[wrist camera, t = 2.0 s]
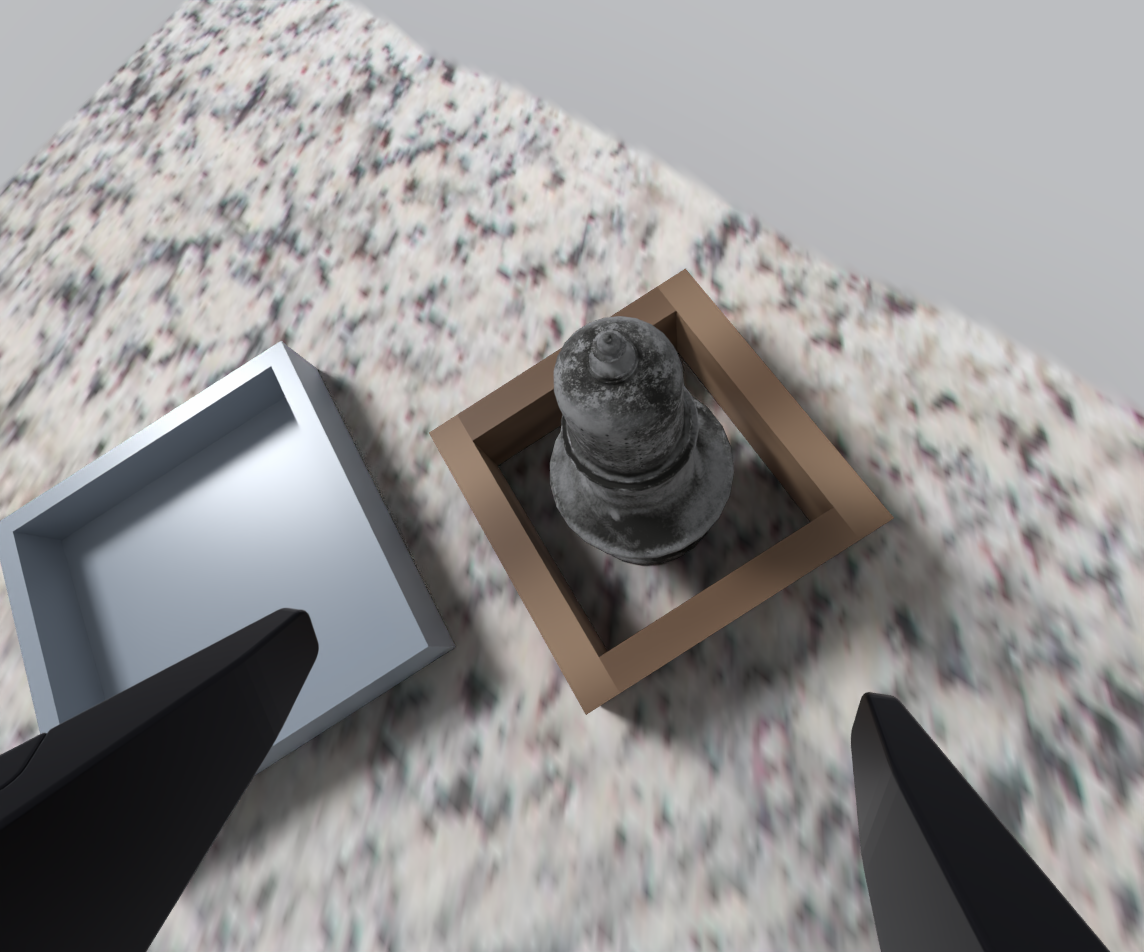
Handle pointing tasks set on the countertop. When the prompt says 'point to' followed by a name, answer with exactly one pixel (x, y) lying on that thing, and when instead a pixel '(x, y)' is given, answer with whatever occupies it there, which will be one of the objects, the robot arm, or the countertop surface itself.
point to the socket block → (758, 413)
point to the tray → (219, 554)
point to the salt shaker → (635, 445)
